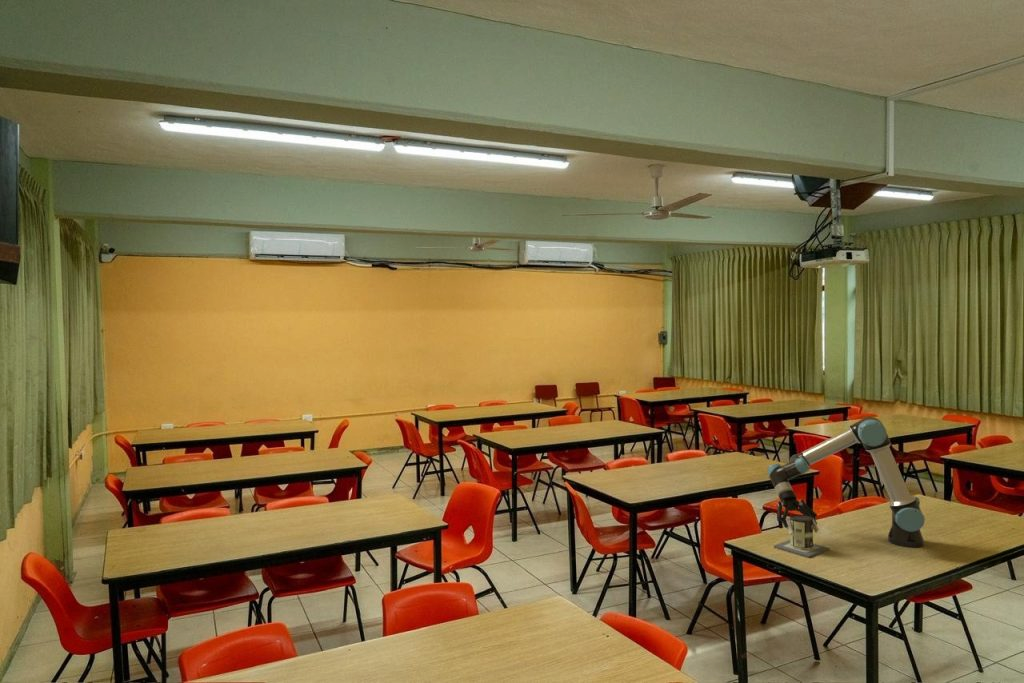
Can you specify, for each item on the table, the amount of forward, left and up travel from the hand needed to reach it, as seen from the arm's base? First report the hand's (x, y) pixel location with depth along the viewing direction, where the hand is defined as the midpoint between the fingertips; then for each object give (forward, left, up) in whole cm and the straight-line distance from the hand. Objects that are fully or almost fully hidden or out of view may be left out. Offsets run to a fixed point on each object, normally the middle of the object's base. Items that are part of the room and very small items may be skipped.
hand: (804, 532), depth 317 cm
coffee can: (+2, -1, -8) cm, 8 cm away
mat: (+2, -1, -9) cm, 9 cm away
